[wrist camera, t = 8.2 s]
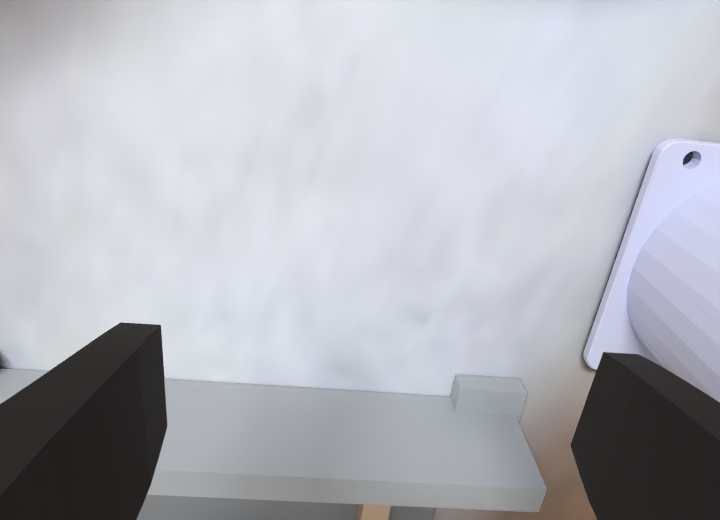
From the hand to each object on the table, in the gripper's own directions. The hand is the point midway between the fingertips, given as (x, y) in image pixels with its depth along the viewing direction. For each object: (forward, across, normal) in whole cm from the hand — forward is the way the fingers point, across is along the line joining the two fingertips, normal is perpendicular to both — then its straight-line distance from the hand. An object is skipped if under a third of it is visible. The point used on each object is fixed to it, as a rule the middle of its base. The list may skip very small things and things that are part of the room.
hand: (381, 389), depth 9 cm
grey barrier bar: (+8, +4, +7) cm, 12 cm away
